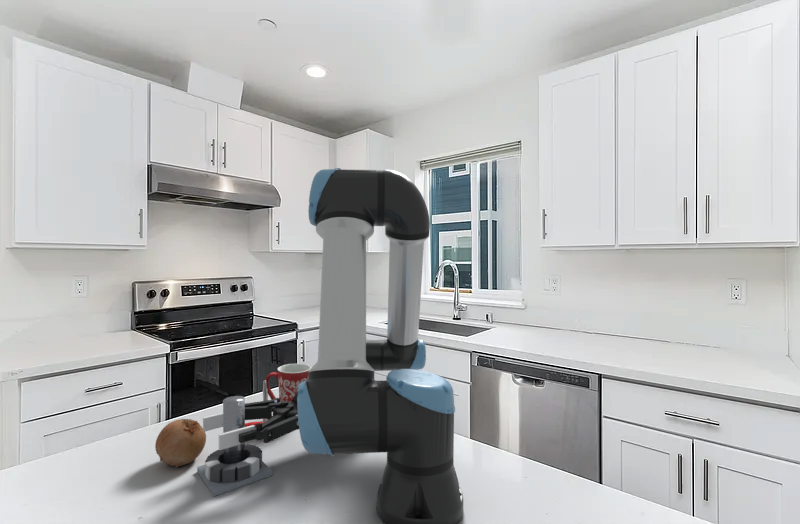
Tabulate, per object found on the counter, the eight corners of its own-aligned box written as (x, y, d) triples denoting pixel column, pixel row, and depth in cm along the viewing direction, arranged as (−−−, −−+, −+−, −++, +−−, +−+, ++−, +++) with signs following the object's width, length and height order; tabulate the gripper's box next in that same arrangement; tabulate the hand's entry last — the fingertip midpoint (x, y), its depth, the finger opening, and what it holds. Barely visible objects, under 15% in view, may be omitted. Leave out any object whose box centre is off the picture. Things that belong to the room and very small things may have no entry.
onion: (200, 473, 88) (222, 432, 88) (156, 481, 80) (179, 436, 80) (182, 445, 93) (202, 406, 93) (140, 450, 86) (161, 407, 86)
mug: (316, 412, 115) (316, 364, 114) (303, 425, 106) (303, 373, 105) (274, 408, 117) (274, 361, 116) (258, 421, 108) (258, 370, 108)
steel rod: (248, 469, 82) (247, 399, 82) (227, 476, 79) (226, 404, 79) (241, 461, 85) (240, 394, 85) (221, 467, 83) (220, 399, 82)
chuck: (272, 475, 82) (272, 458, 82) (213, 496, 75) (213, 477, 74) (251, 454, 90) (251, 438, 90) (197, 471, 83) (197, 454, 83)
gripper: (340, 438, 85) (230, 475, 71) (292, 407, 102) (195, 432, 88) (340, 402, 85) (230, 432, 71) (292, 377, 102) (195, 398, 88)
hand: (211, 432), depth 79 cm, fingers open, 9 cm apart
